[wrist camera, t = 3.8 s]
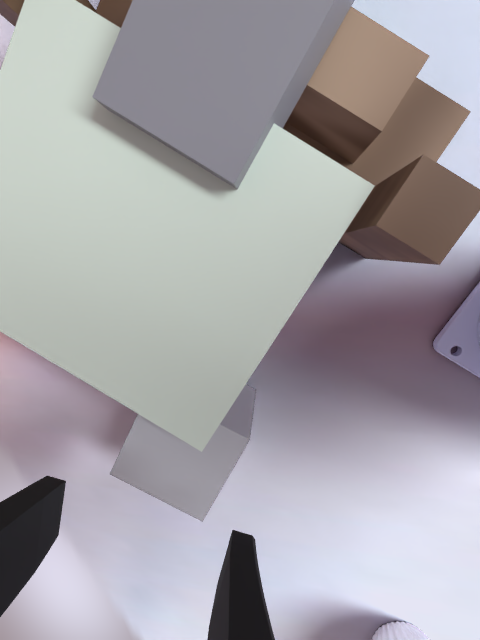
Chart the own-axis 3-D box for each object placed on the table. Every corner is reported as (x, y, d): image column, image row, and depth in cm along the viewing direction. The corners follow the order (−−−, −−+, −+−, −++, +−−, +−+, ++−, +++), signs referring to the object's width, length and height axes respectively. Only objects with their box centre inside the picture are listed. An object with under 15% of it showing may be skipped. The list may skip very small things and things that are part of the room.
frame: (460, 119, 15) (644, -12, 7) (365, 258, 16) (439, 264, 9) (146, -79, 14) (13, -418, 7) (80, 83, 16) (-84, -59, 9)
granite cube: (256, 389, 18) (249, 439, 13) (220, 453, 19) (202, 521, 14) (183, 351, 18) (149, 388, 13) (151, 417, 19) (109, 474, 14)
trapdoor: (539, -84, 9) (639, -211, 7) (211, 425, 13) (196, 466, 11) (196, -305, 9) (165, -521, 6) (-29, 281, 13) (-102, 289, 11)
